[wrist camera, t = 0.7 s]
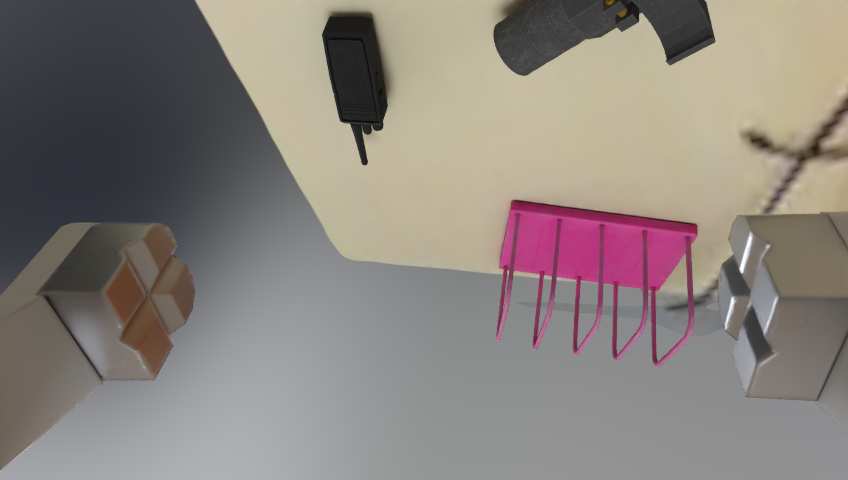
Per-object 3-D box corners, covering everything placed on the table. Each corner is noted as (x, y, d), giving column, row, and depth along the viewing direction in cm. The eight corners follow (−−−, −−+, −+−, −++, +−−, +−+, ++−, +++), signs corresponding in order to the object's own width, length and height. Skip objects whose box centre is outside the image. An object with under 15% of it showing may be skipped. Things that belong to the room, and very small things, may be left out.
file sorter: (658, 280, 101) (659, 376, 94) (499, 258, 104) (488, 350, 96) (698, 223, 86) (704, 332, 79) (512, 199, 88) (500, 302, 81)
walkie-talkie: (389, 26, 63) (410, 166, 79) (356, -2, 66) (383, 138, 82) (335, 53, 61) (368, 190, 77) (304, 23, 64) (342, 160, 80)
